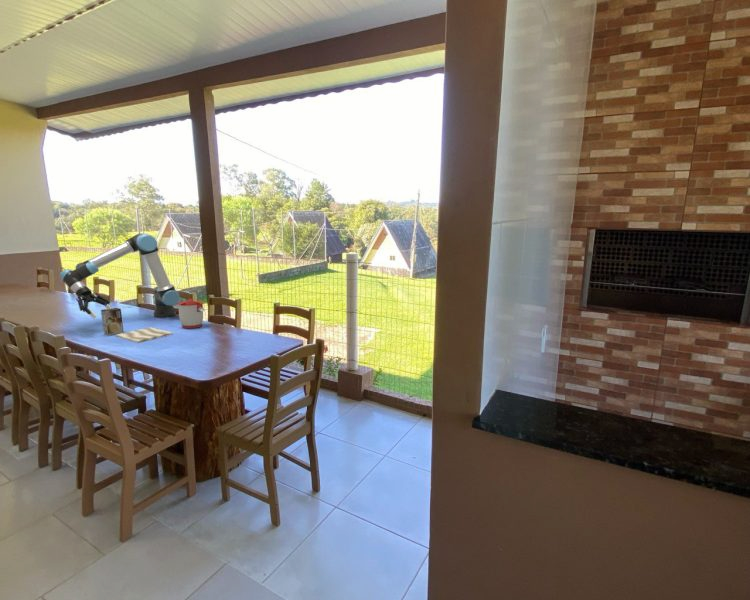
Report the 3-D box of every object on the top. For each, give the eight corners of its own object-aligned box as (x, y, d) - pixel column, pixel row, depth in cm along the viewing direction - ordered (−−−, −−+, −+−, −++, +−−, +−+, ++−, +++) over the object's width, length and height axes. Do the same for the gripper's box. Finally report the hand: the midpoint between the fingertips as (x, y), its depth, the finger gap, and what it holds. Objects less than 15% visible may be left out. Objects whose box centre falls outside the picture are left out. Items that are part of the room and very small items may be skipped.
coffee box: (119, 331, 247) (116, 307, 244) (124, 332, 244) (121, 308, 241) (103, 334, 240) (100, 309, 237) (107, 336, 236) (105, 311, 233)
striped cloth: (150, 329, 254) (150, 327, 254) (172, 334, 243) (172, 332, 243) (115, 336, 235) (115, 334, 235) (137, 342, 224) (137, 340, 224)
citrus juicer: (196, 330, 253) (195, 301, 249) (174, 328, 256) (172, 299, 253) (211, 325, 268) (209, 297, 264) (189, 323, 271) (187, 296, 268)
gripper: (95, 291, 252) (117, 314, 252) (59, 297, 227) (83, 323, 228) (101, 283, 250) (123, 307, 250) (65, 289, 226) (90, 315, 226)
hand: (104, 314), depth 239 cm, fingers open, 13 cm apart
